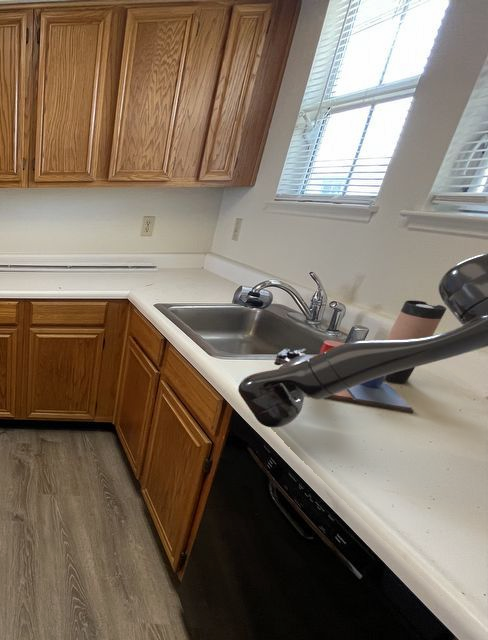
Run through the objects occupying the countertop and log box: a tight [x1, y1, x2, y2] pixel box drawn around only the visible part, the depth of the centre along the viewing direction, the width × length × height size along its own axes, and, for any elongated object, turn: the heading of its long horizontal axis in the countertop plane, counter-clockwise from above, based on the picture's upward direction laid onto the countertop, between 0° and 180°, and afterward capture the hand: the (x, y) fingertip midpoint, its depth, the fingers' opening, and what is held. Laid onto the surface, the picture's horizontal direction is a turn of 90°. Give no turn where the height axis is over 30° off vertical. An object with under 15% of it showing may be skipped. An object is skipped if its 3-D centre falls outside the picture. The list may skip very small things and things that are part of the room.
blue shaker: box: [360, 375, 387, 389], centre depth 102 cm, size 5×5×11 cm
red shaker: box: [318, 339, 345, 354], centre depth 101 cm, size 5×5×11 cm
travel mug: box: [384, 299, 447, 385], centre depth 106 cm, size 8×8×20 cm
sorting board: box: [325, 382, 414, 414], centre depth 103 cm, size 22×14×1 cm, turn 68°
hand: (325, 358), depth 97 cm, fingers open, 8 cm apart
